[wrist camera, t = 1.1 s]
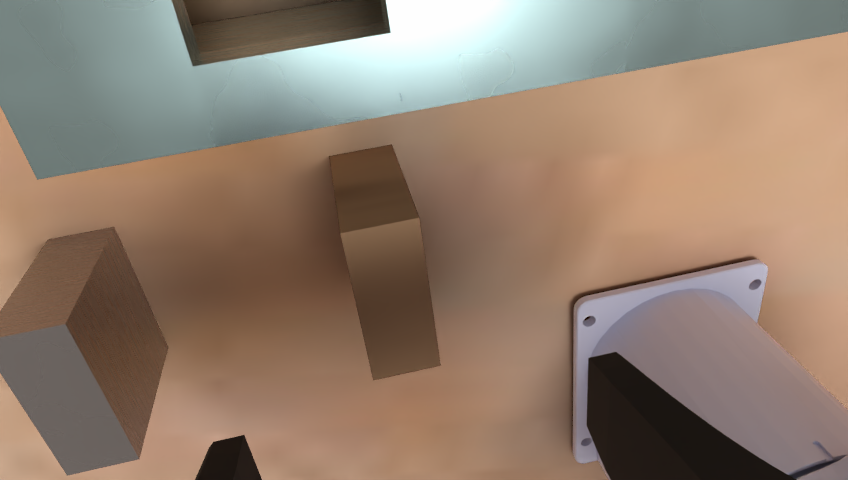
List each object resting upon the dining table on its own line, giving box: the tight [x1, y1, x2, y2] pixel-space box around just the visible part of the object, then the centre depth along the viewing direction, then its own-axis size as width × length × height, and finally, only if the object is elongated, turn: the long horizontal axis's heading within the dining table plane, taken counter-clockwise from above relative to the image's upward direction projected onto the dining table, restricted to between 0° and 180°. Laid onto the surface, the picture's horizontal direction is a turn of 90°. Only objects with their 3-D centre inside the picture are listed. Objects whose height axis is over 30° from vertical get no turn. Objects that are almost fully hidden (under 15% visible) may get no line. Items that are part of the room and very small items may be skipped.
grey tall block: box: [0, 227, 168, 475], centre depth 18 cm, size 5×2×5 cm, turn 8°
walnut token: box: [329, 145, 441, 380], centre depth 19 cm, size 5×2×5 cm, turn 7°
